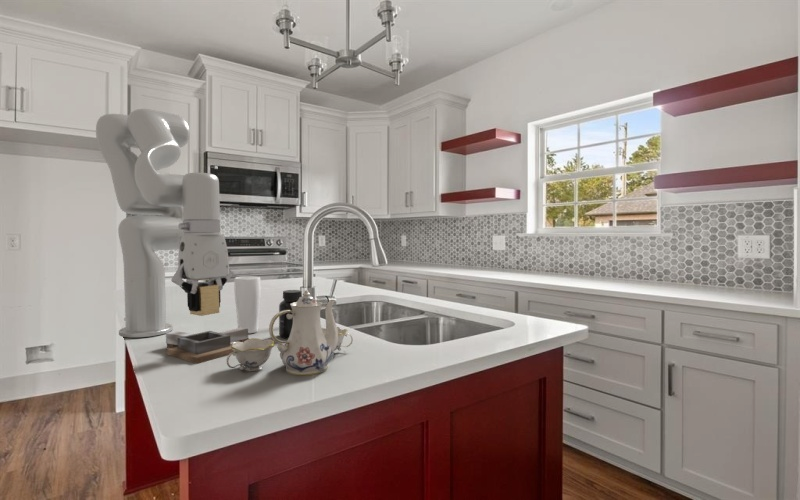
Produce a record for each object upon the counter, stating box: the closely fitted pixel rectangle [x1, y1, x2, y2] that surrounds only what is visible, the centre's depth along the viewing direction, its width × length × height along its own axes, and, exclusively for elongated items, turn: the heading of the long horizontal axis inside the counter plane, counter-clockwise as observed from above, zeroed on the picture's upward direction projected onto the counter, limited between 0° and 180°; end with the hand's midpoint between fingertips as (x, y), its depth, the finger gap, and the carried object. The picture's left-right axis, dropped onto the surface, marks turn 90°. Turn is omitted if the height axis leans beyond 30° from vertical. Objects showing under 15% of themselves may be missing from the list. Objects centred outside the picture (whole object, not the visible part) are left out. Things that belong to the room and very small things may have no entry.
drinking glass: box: [233, 275, 262, 335], centre depth 119 cm, size 7×7×15 cm
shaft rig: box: [165, 327, 250, 364], centre depth 104 cm, size 17×16×4 cm
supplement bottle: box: [278, 289, 303, 340], centre depth 115 cm, size 7×7×12 cm
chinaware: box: [226, 289, 353, 376], centre depth 92 cm, size 28×17×17 cm, turn 135°
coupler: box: [189, 281, 220, 317], centre depth 99 cm, size 4×4×7 cm
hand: (204, 308), depth 99 cm, fingers closed on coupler, 4 cm apart
